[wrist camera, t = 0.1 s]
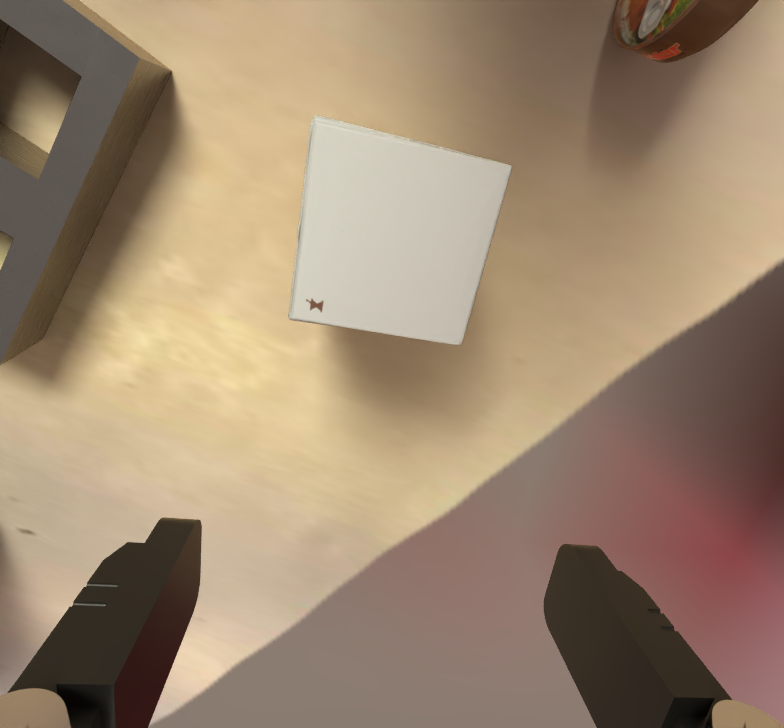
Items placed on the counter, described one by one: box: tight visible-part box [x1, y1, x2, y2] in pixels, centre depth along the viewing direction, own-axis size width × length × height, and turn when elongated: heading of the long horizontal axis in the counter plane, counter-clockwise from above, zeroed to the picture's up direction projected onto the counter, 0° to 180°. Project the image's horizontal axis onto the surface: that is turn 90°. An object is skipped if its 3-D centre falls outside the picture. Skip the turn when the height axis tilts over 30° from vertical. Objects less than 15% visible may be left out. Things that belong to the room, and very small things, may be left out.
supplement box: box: [288, 116, 512, 345], centre depth 23 cm, size 7×7×13 cm
